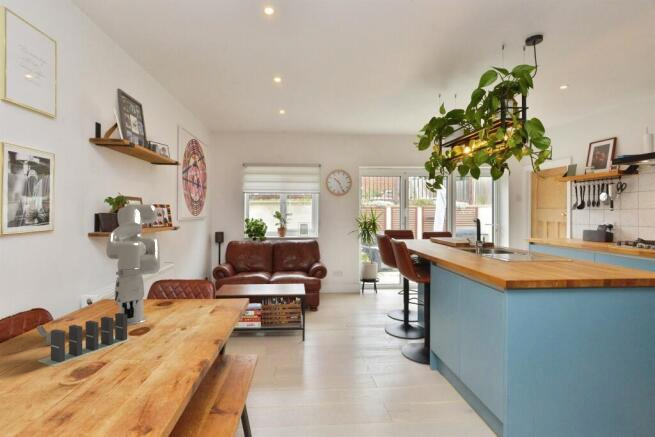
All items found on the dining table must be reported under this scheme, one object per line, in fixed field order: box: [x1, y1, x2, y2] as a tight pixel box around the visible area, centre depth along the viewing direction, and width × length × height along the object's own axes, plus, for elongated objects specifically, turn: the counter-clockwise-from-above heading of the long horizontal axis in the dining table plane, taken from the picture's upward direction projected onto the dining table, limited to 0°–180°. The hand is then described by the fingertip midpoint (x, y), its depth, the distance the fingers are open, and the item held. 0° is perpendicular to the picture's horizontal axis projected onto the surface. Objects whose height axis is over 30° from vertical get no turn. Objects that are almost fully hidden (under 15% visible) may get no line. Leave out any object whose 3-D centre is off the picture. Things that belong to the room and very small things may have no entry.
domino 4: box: [100, 316, 115, 345], centre depth 127 cm, size 2×5×10 cm, turn 66°
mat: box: [37, 335, 132, 367], centre depth 122 cm, size 10×27×1 cm, turn 156°
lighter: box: [36, 324, 51, 346], centre depth 127 cm, size 7×2×8 cm, turn 114°
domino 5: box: [114, 312, 128, 341], centre depth 132 cm, size 2×5×10 cm, turn 66°
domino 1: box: [50, 328, 66, 363], centre depth 112 cm, size 2×5×10 cm, turn 66°
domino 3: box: [85, 320, 100, 351], centre depth 122 cm, size 2×5×10 cm, turn 66°
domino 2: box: [68, 324, 83, 356], centre depth 117 cm, size 2×5×10 cm, turn 66°
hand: (129, 317), depth 135 cm, fingers closed
